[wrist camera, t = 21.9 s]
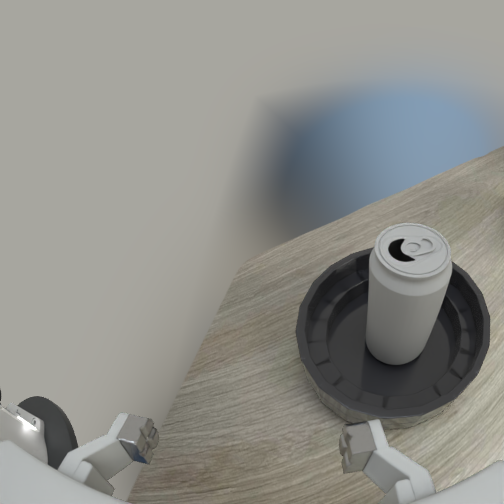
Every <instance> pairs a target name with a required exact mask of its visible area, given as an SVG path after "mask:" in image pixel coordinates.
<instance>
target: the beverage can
mask: <svg viewBox="0 0 504 504" xmlns="http://www.w3.org/2000/svg"><path fill="white" fill-rule="evenodd" d="M451 273H452V261H451V249H450V246H449V243H448V242H447V240H446V239H445V238H444V236H443V235H442V234H440V233H439V232H438V231H436V230H435V229H433V228H431V227H428V226H426V225H422V224H417V223H400V224H396V225H393V226H390V227H388V228H386V229H385V230H383V231H382V232H381V233H380V234H379V235H378V237H377V239H376V242H375V247H374V248H373V250H372V252H371V254H370V258H369V294H368V312H367V326H366V344H367V347H368V349H369V351H370V352H371V354H372V355H373V356H374V357H375V358H376V359H378V360H379V361H381V362H384V363H386V364H391V365H401V364H405V363H408V362H410V361H412V360H414V359H415V358H416V357H418V356H419V355H420V353H421V352H422V351H423V349H424V347H425V345H426V343H427V340H428V338H429V336H430V333H431V331H432V328H433V326H434V323H435V321H436V318H437V316H438V313H439V310H440V308H441V305H442V302H443V299H444V296H445V293H446V290H447V287H448V284H449V280H450V277H451Z"/></svg>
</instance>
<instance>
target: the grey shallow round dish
mask: <svg viewBox="0 0 504 504" xmlns="http://www.w3.org/2000/svg"><path fill="white" fill-rule="evenodd" d="M373 248H374V247H373ZM373 248H370V249H366V250H363V251H359V252H356V253H353V254H350V255H349V256H347V257H345V258H343V259H342V260H340V261H338V262H336V263H334V264H333V265H331V266H330V267H329V268H328V269H327V270H325V271H324V272H323V273H322V274H321V275H320V276H319V277H318V278H317V279H316V280H315V281H314V282H313V284H312V285H311V287H310V289H309V291H308V292H307V294H306V296H305V298H304V300H303V301H302V303H301V305H300V309H299V315H298V320H297V326H296V337H297V342H298V347H299V352H300V357H301V361H302V364H303V367H304V371H305V374H306V377H307V380H308V381H309V383H310V384H311V386H312V388H313V389H314V391H315V392H316V394H317V396H318V397H319V399H320V400H321V402H322V403H323V404H324V405H326V406H327V407H328V408H329V409H331V410H332V411H333V412H335V413H336V414H337V415H339V416H340V417H341V418H343V419H344V420H346V421H348V422H351V423H358V422H363V421H371V420H375V419H379V420H380V422H381V425H382V427H383V430H387V429H400V428H409V427H412V426H415V425H417V424H419V423H421V422H424V421H426V420H428V419H430V418H432V417H434V416H436V415H438V414H440V413H441V412H442V411H443V410H444V409H445V408H446V407H448V406H449V405H450V404H451V403H452V402H453V401H454V400H455V399H456V398H457V397H458V396H459V395H460V394H461V393H462V392H463V391H464V390H465V388H466V387H467V386H468V385H469V384H470V383H471V382H472V381H473V380H474V378H475V377H476V376H477V375H478V373H479V371H480V368H481V366H482V364H483V361H484V359H485V356H486V354H487V351H488V348H489V344H490V316H489V313H488V309H487V306H486V303H485V300H484V297H483V294H482V292H481V291H480V289H479V288H478V287H477V285H476V284H475V283H474V281H473V280H472V278H471V277H470V276H469V274H468V273H467V272H465V271H464V270H463V269H462V268H460V267H459V266H458V265H456V264H455V263H454V262H452V273H451V277H450V280H449V284H448V287H447V290H446V293H445V296H444V299H443V302H442V305H441V308H440V310H439V313H438V316H437V318H436V321H435V323H434V326H433V328H432V331H431V333H430V336H429V338H428V340H427V343H426V345H425V347H424V349H423V351H422V352H421V353H420V355H419V356H418V357H416V358H415V359H414V360H412V361H410V362H408V363H405V364H401V365H391V364H386V363H384V362H381V361H379V360H378V359H376V358H375V357H374V356H373V355H372V354H371V352H370V351H369V349H368V347H367V344H366V326H367V312H368V294H369V258H370V254H371V252H372V250H373Z"/></svg>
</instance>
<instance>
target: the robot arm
mask: <svg viewBox="0 0 504 504" xmlns="http://www.w3.org/2000/svg"><path fill="white" fill-rule="evenodd" d="M0 401H1V390H0ZM153 425H154V423H153V421H152V419H149V418H144V417H140V416H135V415H131V414H128V413H123V412H121V413H119V414H118V416H117V418H116V419H115V421H114V423H113V425H112V426H111V428H110V430H109V431H108V433H107V435H103V436H100V437H98V438H97V439H95V440H93V441H91V442H89V443H87V444H85V445H83V446H81V447H79V448H77V449H74V450H72V451H70V452H68V453H67V455H66V457H65V458H64V460H63V461H62V463H61V465H60V466H59V468H58V469H57V470H56V469H54V468H52V467H51V466H49V465H48V455H47V448H46V444H45V439H44V421H43V420H41V419H39V418H38V417H36V416H34V415H32V414H30V413H29V412H27V411H25V410H24V409H22V408H20V407H19V406H17V405H15V404H13V403H10V404H9V405H8V406H7V407H6V408H4V407H3V406H1V403H0V504H132V503H129V502H126V501H123V500H121V499H118V498H115V497H113V496H112V494H113V492H114V487H113V486H112V485H111V484H110V483H109V482H108V481H107V480H109V479H110V478H112V477H113V476H114V475H116V474H117V473H118V472H120V471H121V470H122V469H124V468H125V467H127V466H128V465H129V464H131V463H132V462H133V461H137V462H141V463H145V464H149V465H150V462H151V460H152V457H153V455H154V453H153V451H152V450H153V449H154V448H156V447H157V445H158V442H159V434H158V431H157V429H156V428H154V427H153ZM342 431H343V434H341V435H340V439H339V450H340V454H341V455H342V456H343V459H342V468H343V474H344V473H351V472H358V471H362V472H363V473H364V474H365V475H367V476H368V477H369V478H370V479H371V480H372V481H373V482H374V483H375V484H376V485H377V486H378V487H379V488H380V489H381V490H382V491H383V492H385V493H386V495H385V496H384V497H383V498H382V499H381V500H380V501H379V502H378V504H504V461H503V460H498V461H496V462H494V463H492V464H491V465H489V466H487V467H486V468H484V469H482V470H481V471H479V472H477V473H475V474H474V475H472V476H470V477H468V478H466V479H464V480H462V481H460V482H458V483H456V484H454V485H452V486H450V487H448V488H446V489H443V490H441V491H439V492H437V493H436V490H435V487H434V484H433V481H432V478H431V476H430V473H429V470H427V469H425V468H424V467H422V466H421V465H419V464H418V463H416V462H415V461H413V460H412V459H410V458H409V457H407V456H406V455H404V454H403V453H401V452H400V451H398V450H397V449H395V448H394V447H393V446H392V447H389V445H388V442H387V439H386V436H385V433H384V430H383V427H382V425H381V422H380V420H379V419H375V420H371V421H363V422H358V423H352V424H345V425H344V426H343V429H342Z"/></svg>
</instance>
